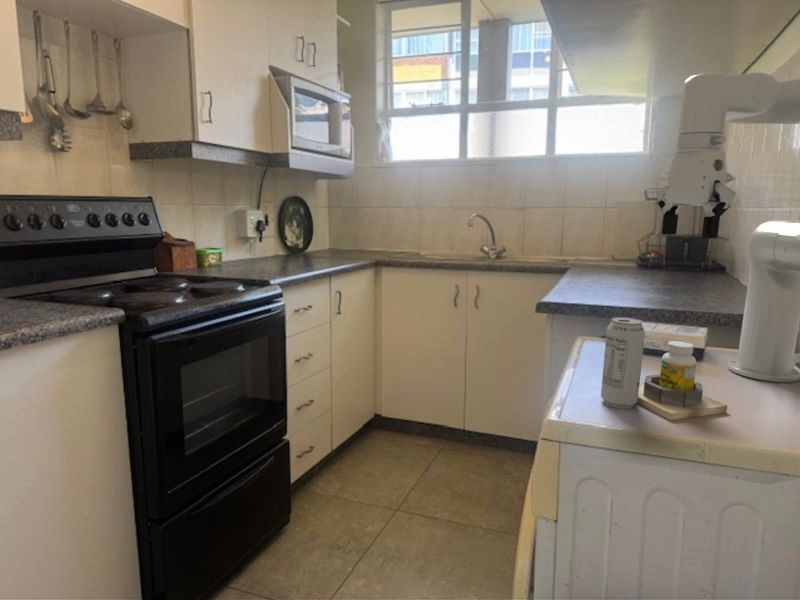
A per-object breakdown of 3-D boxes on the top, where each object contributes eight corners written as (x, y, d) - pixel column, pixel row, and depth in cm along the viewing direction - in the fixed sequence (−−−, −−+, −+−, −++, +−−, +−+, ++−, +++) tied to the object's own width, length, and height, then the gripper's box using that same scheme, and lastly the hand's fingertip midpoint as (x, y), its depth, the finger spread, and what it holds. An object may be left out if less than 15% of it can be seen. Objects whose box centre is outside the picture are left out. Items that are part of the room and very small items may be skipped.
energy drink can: (644, 409, 93) (653, 324, 90) (611, 410, 92) (620, 324, 89) (624, 396, 99) (633, 315, 96) (593, 397, 98) (601, 316, 95)
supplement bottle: (699, 400, 94) (705, 346, 92) (676, 404, 92) (683, 349, 90) (673, 389, 99) (679, 338, 97) (651, 393, 97) (656, 341, 95)
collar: (671, 388, 103) (673, 369, 103) (726, 412, 92) (729, 391, 91) (619, 394, 100) (621, 375, 99) (670, 420, 88) (672, 398, 88)
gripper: (756, 141, 95) (742, 239, 98) (678, 148, 111) (668, 232, 115) (723, 139, 93) (711, 240, 96) (648, 147, 109) (640, 233, 112)
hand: (688, 236), depth 105 cm, fingers open, 9 cm apart
